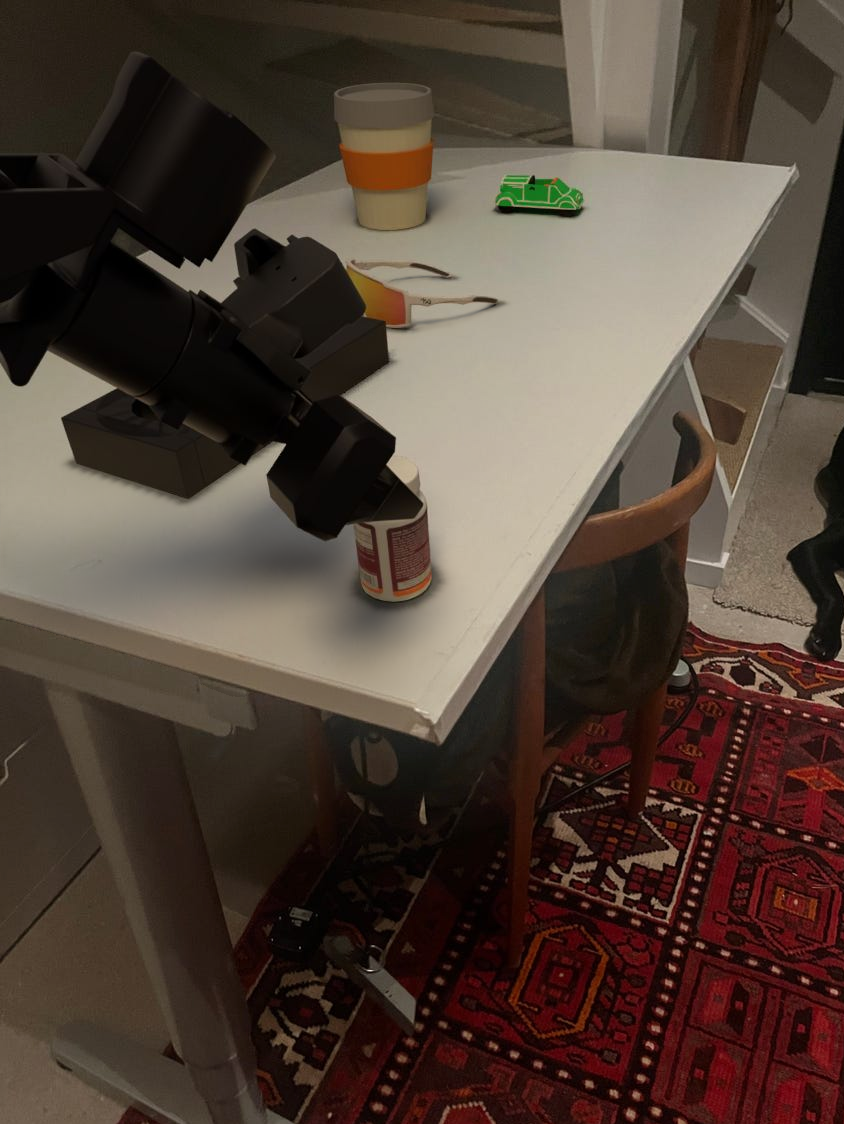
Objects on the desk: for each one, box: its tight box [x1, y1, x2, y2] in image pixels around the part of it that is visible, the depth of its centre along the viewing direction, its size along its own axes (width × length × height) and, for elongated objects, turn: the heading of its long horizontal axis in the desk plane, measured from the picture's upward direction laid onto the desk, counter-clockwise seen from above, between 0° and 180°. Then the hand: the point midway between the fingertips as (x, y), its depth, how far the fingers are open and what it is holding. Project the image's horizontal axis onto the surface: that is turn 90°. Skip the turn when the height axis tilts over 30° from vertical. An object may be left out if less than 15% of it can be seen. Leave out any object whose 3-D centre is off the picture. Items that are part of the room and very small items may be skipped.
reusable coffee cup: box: [333, 82, 435, 231], centre depth 119 cm, size 13×13×15 cm
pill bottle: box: [352, 455, 433, 602], centre depth 59 cm, size 5×5×8 cm
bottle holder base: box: [60, 315, 390, 499], centre depth 80 cm, size 28×12×4 cm, turn 151°
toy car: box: [491, 174, 585, 218], centre depth 125 cm, size 12×5×4 cm, turn 75°
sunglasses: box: [345, 258, 500, 329], centre depth 99 cm, size 14×15×5 cm
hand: (380, 476), depth 56 cm, fingers open, 9 cm apart
